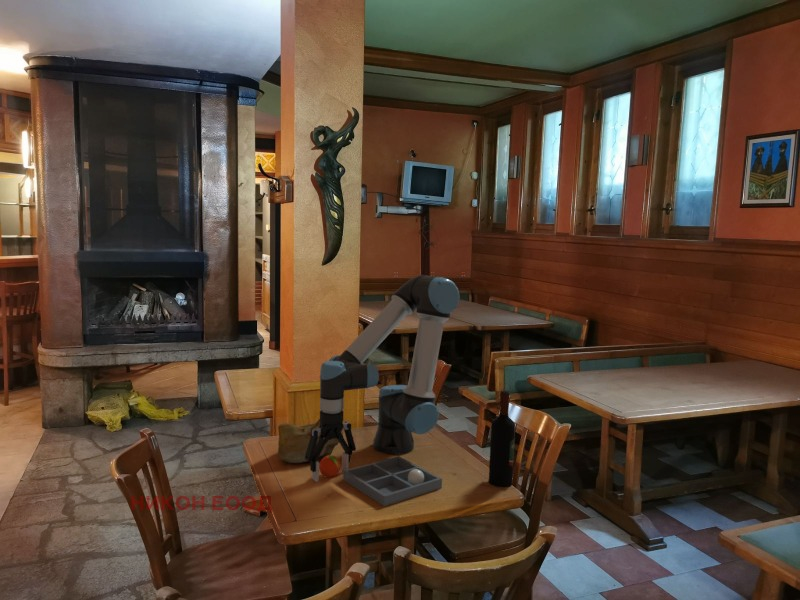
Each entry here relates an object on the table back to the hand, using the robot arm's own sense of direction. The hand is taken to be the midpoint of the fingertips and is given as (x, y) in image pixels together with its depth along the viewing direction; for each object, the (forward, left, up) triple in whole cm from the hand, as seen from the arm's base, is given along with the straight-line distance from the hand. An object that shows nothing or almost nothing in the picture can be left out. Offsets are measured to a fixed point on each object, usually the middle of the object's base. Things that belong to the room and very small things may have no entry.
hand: (330, 476), depth 193 cm
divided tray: (-12, +17, 0) cm, 21 cm away
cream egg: (-17, +22, +1) cm, 28 cm away
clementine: (0, 0, 0) cm, 0 cm away
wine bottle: (-43, +34, 0) cm, 55 cm away
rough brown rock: (-3, -21, -1) cm, 21 cm away
